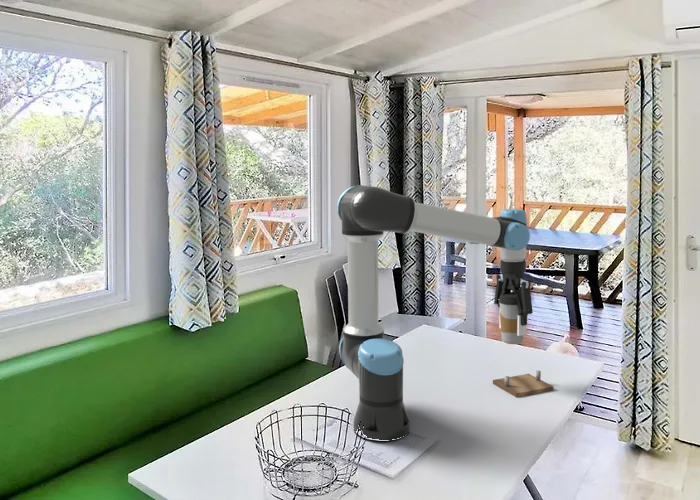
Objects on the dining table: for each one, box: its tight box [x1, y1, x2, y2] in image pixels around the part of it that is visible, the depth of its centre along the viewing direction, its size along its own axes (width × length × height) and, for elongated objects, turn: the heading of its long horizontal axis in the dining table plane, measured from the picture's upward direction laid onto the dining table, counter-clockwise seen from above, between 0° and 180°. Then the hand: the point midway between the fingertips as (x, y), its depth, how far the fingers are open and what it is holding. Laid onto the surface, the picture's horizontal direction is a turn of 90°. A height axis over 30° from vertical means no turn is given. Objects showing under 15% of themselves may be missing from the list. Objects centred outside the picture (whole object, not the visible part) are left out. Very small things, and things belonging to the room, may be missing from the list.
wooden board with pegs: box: [492, 370, 555, 398], centre depth 181 cm, size 14×12×4 cm
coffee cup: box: [498, 291, 524, 345], centre depth 178 cm, size 8×8×15 cm
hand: (512, 331), depth 179 cm, fingers closed on coffee cup, 8 cm apart
